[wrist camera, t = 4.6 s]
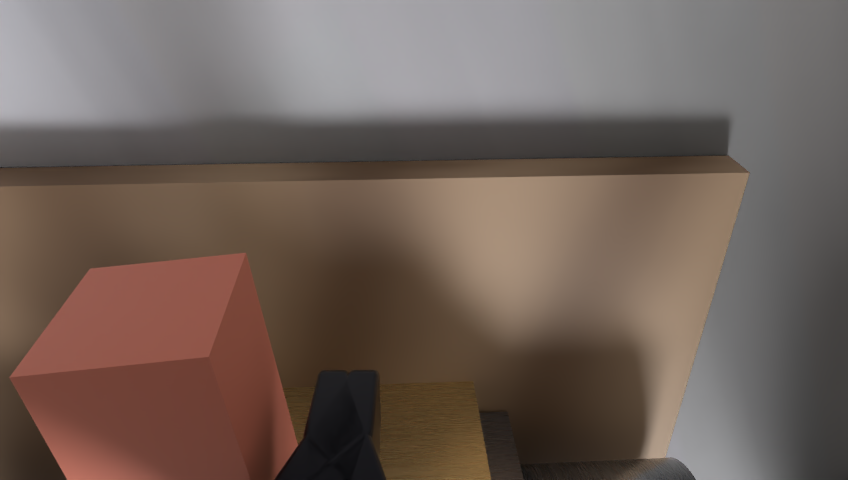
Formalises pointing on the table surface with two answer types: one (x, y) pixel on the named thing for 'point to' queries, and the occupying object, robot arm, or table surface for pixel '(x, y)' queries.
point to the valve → (467, 440)
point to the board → (411, 278)
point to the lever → (160, 376)
